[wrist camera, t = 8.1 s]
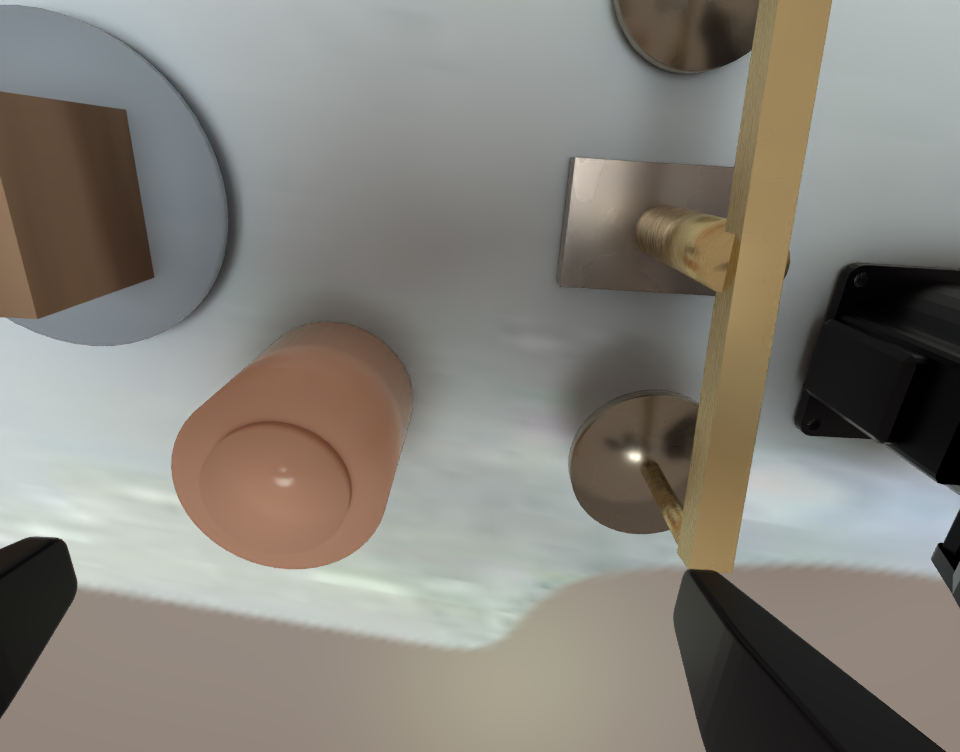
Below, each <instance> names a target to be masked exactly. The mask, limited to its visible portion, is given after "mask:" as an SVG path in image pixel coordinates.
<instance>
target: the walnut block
mask: <svg viewBox="0 0 960 752" xmlns="http://www.w3.org/2000/svg"><path fill="white" fill-rule="evenodd" d="M152 278H154V272H153V266H152V260H151V254H150V248H149V242H148V236H147V230H146V224H145V218H144V213H143V207H142V201H141V195H140V189H139V183H138V177H137V171H136V165H135V159H134V153H133V147H132V142H131V136H130V130H129V124H128V118H127V112H126V110H125V109H118V108H111V107H104V106H97V105H90V104H84V103H77V102H70V101H63V100H56V99H49V98H42V97H35V96H29V95H22V94H15V93H8V92H1V91H0V317H7V318H24V319H40V318H43V317H45V316H48V315H51V314H54V313H57V312H59V311H62V310H65V309H68V308H71V307H74V306H76V305H79V304H82V303H85V302H88V301H90V300H93V299H96V298H99V297H102V296H104V295H107V294H110V293H113V292H116V291H119V290H121V289H124V288H127V287H130V286H133V285H135V284H138V283H141V282H144V281H147V280H150V279H152Z"/></svg>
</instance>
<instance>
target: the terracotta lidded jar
mask: <svg viewBox="0 0 960 752" xmlns="http://www.w3.org/2000/svg"><path fill="white" fill-rule="evenodd" d="M412 409H413V391H412V386H411V382H410V379H409V376H408V373H407V371H406V369H405V367H404V366H403V364H402V362H401V361H400V359H399V358H398V356H397V355H396V354H395V353H394V352H393V351H392V350H391V348H390V347H388V346H387V345H386V344H385V343H384V342H383V341H381V340H380V339H378V338H377V337H376V336H374V335H373V334H371V333H369V332H367V331H365V330H363V329H360V328H357V327H355V326H352V325H348V324H343V323H336V322H317V323H310V324H307V325H303V326H300V327H297V328H295V329H293V330H291V331H289V332H287V333H286V334H284V335H282V336H281V337H280V338H279V339H278V340H276V341H275V342H274V343H273V344H272V345H271V346H270V347H268V348H267V349H266V350H265V351H264V352H263V353H261V354H260V355H259V356H258V357H257V358H256V359H255V360H253V361H252V362H251V363H250V364H249V365H248V366H247V367H245V368H244V369H243V370H242V371H241V372H240V373H238V374H237V375H236V376H235V377H234V378H233V379H232V380H230V381H229V382H228V383H227V384H226V385H225V386H224V387H222V388H221V389H220V390H219V391H218V392H217V393H216V394H214V395H213V396H212V397H211V398H210V399H209V400H207V401H206V402H205V403H204V404H203V405H202V406H201V407H199V408H198V409H197V410H196V411H195V412H194V413H193V414H192V415H191V416H190V417H189V418H188V420H187V421H186V422H185V423H184V425H183V427H182V428H181V430H180V431H179V433H178V436H177V438H176V441H175V443H174V448H173V453H172V464H171V469H172V478H173V483H174V486H175V490H176V493H177V495H178V498H179V500H180V502H181V504H182V506H183V508H184V509H185V511H186V513H187V514H188V516H189V517H190V518H191V520H192V521H193V522H194V524H195V525H196V526H197V527H198V528H199V529H200V530H201V531H202V532H203V533H204V534H205V535H206V536H208V537H209V538H210V539H211V540H212V541H213V542H215V543H216V544H218V545H219V546H221V547H222V548H224V549H225V550H227V551H229V552H231V553H233V554H234V555H236V556H238V557H241V558H243V559H246V560H248V561H251V562H254V563H257V564H260V565H264V566H269V567H274V568H283V569H307V568H315V567H319V566H324V565H328V564H331V563H333V562H336V561H339V560H341V559H343V558H345V557H347V556H349V555H350V554H352V553H353V552H355V551H356V550H358V549H359V548H360V547H361V546H362V545H364V544H365V543H366V542H367V541H368V540H369V538H370V537H371V536H372V535H373V534H374V532H375V531H376V529H377V527H378V526H379V524H380V522H381V519H382V517H383V514H384V511H385V508H386V504H387V501H388V497H389V494H390V490H391V486H392V483H393V479H394V476H395V472H396V468H397V465H398V461H399V458H400V454H401V451H402V447H403V443H404V440H405V436H406V433H407V429H408V426H409V422H410V418H411V414H412Z"/></svg>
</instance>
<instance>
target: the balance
mask: <svg viewBox="0 0 960 752" xmlns="http://www.w3.org/2000/svg"><path fill="white" fill-rule="evenodd" d="M613 1H614V7H615V11H616V15H617V18H618V21H619V23H620V26H621V28H622V31H623V32H624V34H625V36H626V38H627V39H628V41H629V42H630V44H631V45H632V46H633V47H634V49H635V50H636V51H637V52H638V53H639V54H640V55H641V56H642V57H643V58H645V59H646V60H648V61H649V62H650V63H652V64H654V65H656V66H658V67H660V68H662V69H665V70H668V71H671V72H676V73H683V74H686V73H700V72H706V71H709V70H713V69H716V68H719V67H721V66H724V65H726V64H728V63H731V62H733V61H735V60H737V59H739V58H740V57H742V56H744V55H745V54H747V53H748V52H750V51H751V50H752V52H751V59H750V66H749V73H748V79H747V86H746V93H745V99H744V106H743V113H742V120H741V126H740V133H739V140H738V146H737V153H736V160H735V167H734V168H733V167H717V166H701V165H685V164H669V163H653V162H637V161H621V160H605V159H590V158H570V167H569V176H568V184H567V193H566V202H565V211H564V220H563V229H562V238H561V246H560V255H559V264H558V273H557V282H558V283H559V285H560V287H574V288H591V289H608V290H625V291H642V292H659V293H677V294H694V295H711V296H715V301H714V308H713V314H712V321H711V328H710V334H709V341H708V348H707V355H706V361H705V368H704V375H703V381H702V388H701V395H700V402H699V403H697V402H696V401H694V400H692V399H691V398H689V397H686V396H684V395H681V394H679V393H675V392H671V391H664V390H644V391H637V392H633V393H629V394H625V395H623V396H620V397H617V398H615V399H613V400H611V401H609V402H607V403H606V404H604V405H603V406H601V407H600V408H598V409H597V410H596V411H595V412H594V413H592V414H591V415H590V416H589V417H588V418H587V420H586V421H585V422H584V423H583V424H582V426H581V427H580V428H579V430H578V432H577V434H576V435H575V437H574V439H573V442H572V445H571V448H570V452H569V460H568V468H569V475H570V479H571V483H572V487H573V490H574V493H575V495H576V498H577V500H578V502H579V503H580V505H581V506H582V508H583V509H584V510H585V511H586V512H587V513H588V514H589V515H590V516H591V517H592V518H593V519H595V520H596V521H598V522H599V523H601V524H602V525H604V526H606V527H608V528H611V529H614V530H617V531H621V532H625V533H633V534H650V533H658V532H663V531H667V530H670V531H671V533H672V535H673V537H674V539H675V541H676V543H677V544H678V549H677V554H678V555H679V556H680V558H681V559H682V561H683V562H684V564H685V565H686V567H687V568H688V569H704V570H714V571H716V572H718V573H732V571H733V566H734V560H735V554H736V548H737V543H738V537H739V531H740V526H741V520H742V514H743V508H744V503H745V497H746V491H747V485H748V480H749V474H750V468H751V462H752V457H753V451H754V445H755V439H756V434H757V428H758V422H759V417H760V411H761V405H762V399H763V394H764V388H765V382H766V376H767V371H768V365H769V359H770V353H771V348H772V342H773V336H774V331H775V325H776V319H777V313H778V308H779V302H780V296H781V290H782V285H783V280H784V278H785V276H786V274H787V272H788V269H789V264H790V252H789V244H790V239H791V233H792V227H793V222H794V216H795V210H796V204H797V199H798V193H799V187H800V181H801V176H802V170H803V164H804V158H805V153H806V147H807V141H808V136H809V130H810V124H811V118H812V113H813V107H814V101H815V95H816V90H817V84H818V78H819V72H820V67H821V61H822V55H823V50H824V44H825V38H826V32H827V27H828V21H829V15H830V9H831V4H832V0H613Z"/></svg>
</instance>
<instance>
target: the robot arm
mask: <svg viewBox="0 0 960 752" xmlns="http://www.w3.org/2000/svg"><path fill="white" fill-rule="evenodd" d="M859 273H861V274H862V278H861V280H860V281H859V282H858V283H857V284H854V279H855V277H856V276H857V275H858V274H859ZM804 388H805V389H804V393H803V396H802V399H801V402H800V405H799V409H798V412H797V415H796V418H795V425H796V427H797V428H798V429H799V430H801V431H802V432H803V433H804V434H806V435H809V436H824V437H843V438H862V439H873V440H875V441H876V442H878V443H881V444H883V445H885V446H886V447H888V448H889V449H890V450H892V451H893V452H895V453H896V454H898V455H899V456H900V457H902V458H903V459H905V460H906V461H907V462H909V463H910V464H912V465H913V466H915V467H916V468H917V469H919V470H920V471H922V472H923V473H924V474H926V475H927V476H929V477H930V478H932V479H933V480H934V481H936V482H937V483H940V484H944V485H946V486H947V487H949V488H950V489H951V490H953V491H954V492H956V493H957V494H959V495H960V269H952V268H935V267H918V266H902V265H885V264H868V263H855V264H851V265H850V266H848V267H846V268H845V269H844V270H843V272H842V274H841V275H840V278H839V281H838V284H837V288H836V291H835V294H834V297H833V300H832V303H831V307H830V310H829V313H828V316H827V319H826V323H825V324H824V325H823V327H822V330H821V333H820V336H819V339H818V343H817V346H816V349H815V352H814V355H813V359H812V362H811V365H810V368H809V371H808V375H807V378H806V381H805V384H804ZM813 418H815V420H814V422H813V423H812V424H810V425H807V424H808V422H809V421H810V420H811V419H813ZM931 560H932V562H933V564H934V565H935V567H936V568H937V570H938V572H939V573H940V575H941V577H942V578H943V580H944V581H945V583H946V585H947V586H948V588H949V589H950V591H951V592H952V594H953V597H954V598H955V600H956V602H957V604H958V606H959V607H960V509H959V511H958V513H957V516H956V518H955V520H954V522H953V524H952V526H951V528H950V530H949V532H948V534H947V536H946V538H945V541H944V543H939V544H938V545H937V547H936V549H935V551H934V553H933V555H932V557H931ZM76 591H77V578H76V575H75V571H74V568H73V564H72V561H71V558H70V554H69V551H68V547H67V545H66V543H65V542H64V541H63V540H62V539H59V538H54V537H28V538H25V539H22V540H20V541H18V542H15V543H13V544H11V545H8V546H6V547H4V548H1V549H0V718H1V717H2V715H3V714H4V712H5V711H6V710H7V708H8V707H9V705H10V703H11V702H12V700H13V699H14V697H15V696H16V694H17V692H18V691H19V689H20V688H21V686H22V684H23V683H24V681H25V679H26V678H27V676H28V674H29V673H30V671H31V669H32V668H33V666H34V664H35V663H36V661H37V660H38V658H39V656H40V655H41V653H42V651H43V650H44V648H45V646H46V645H47V643H48V641H49V640H50V638H51V636H52V635H53V633H54V631H55V629H56V628H57V627H58V625H59V623H60V622H61V620H62V618H63V617H64V615H65V613H66V612H67V610H68V608H69V607H70V605H71V603H72V602H73V600H74V597H75V595H76ZM673 619H674V627H675V632H676V637H677V641H678V645H679V649H680V653H681V657H682V661H683V665H684V669H685V673H686V677H687V682H688V686H689V690H690V694H691V698H692V702H693V706H694V710H695V715H696V719H697V722H698V726H699V730H700V733H701V737H702V740H703V743H704V746H705V750H706V752H946V751H944V750H943V749H942V748H941V747H939V746H938V745H937V744H936V743H934V742H933V741H932V740H931V739H929V738H928V737H927V736H925V735H924V734H923V733H922V732H920V731H919V730H918V729H916V728H915V727H914V726H913V725H911V724H910V723H909V722H908V721H906V720H905V719H904V718H902V717H901V716H900V715H899V714H897V713H896V712H895V711H894V710H892V709H891V708H890V707H889V706H887V705H886V704H885V703H883V702H882V701H881V700H879V699H878V698H877V697H876V696H875V695H873V694H872V693H871V692H869V691H868V690H867V689H866V688H864V687H863V686H862V685H860V684H859V683H858V682H857V681H856V680H854V679H853V678H852V677H850V676H849V675H848V674H847V673H845V672H844V671H843V670H842V669H840V668H839V667H838V666H836V665H835V664H834V663H832V662H831V661H830V660H829V659H828V658H826V657H825V656H824V655H822V654H821V653H820V652H819V651H817V650H816V649H815V648H814V647H812V646H811V645H810V644H808V643H807V642H806V641H805V640H803V639H802V638H801V637H800V636H798V635H797V634H796V633H794V632H793V631H792V630H791V629H789V628H788V627H787V626H786V625H784V624H783V623H782V622H780V621H779V620H778V619H777V618H775V617H774V616H773V615H772V614H770V613H769V612H768V611H767V610H765V609H764V608H763V607H761V606H760V605H759V604H758V603H756V602H755V601H754V600H753V599H751V598H750V597H749V596H747V595H746V594H745V593H744V592H742V591H741V590H740V589H738V588H737V587H736V586H735V585H733V584H732V583H731V582H730V581H728V580H727V579H726V578H725V577H723V576H722V575H721V574H719V573H718V572H716V571H714V570H704V569H689V570H687V571H686V572H685V573H684V575H683V577H682V581H681V585H680V589H679V593H678V596H677V600H676V604H675V608H674V615H673Z"/></svg>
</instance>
